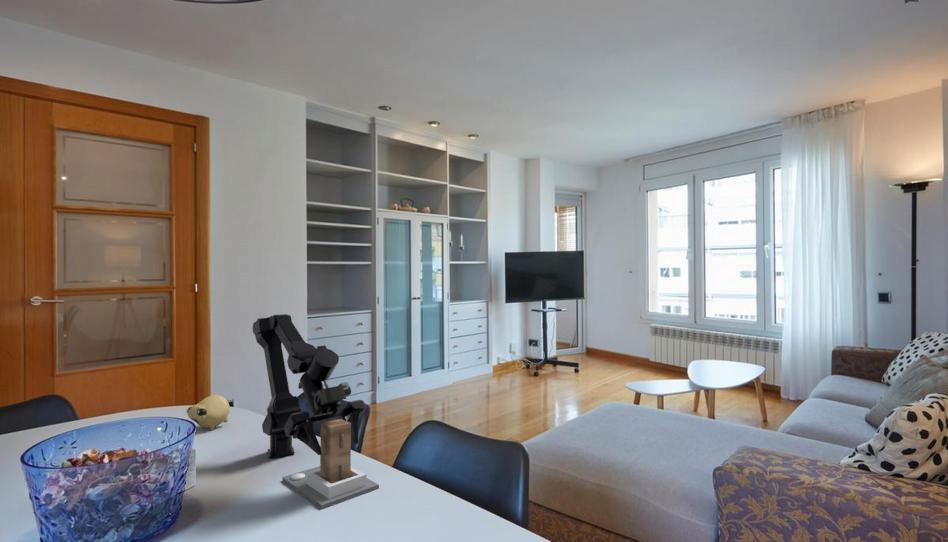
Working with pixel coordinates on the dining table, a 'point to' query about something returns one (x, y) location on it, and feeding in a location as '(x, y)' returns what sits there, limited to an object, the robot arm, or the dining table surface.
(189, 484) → the medicine box
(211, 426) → the toy pig
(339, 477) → the tan tall block
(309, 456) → the dining table surface
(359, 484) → the grey insertion base
